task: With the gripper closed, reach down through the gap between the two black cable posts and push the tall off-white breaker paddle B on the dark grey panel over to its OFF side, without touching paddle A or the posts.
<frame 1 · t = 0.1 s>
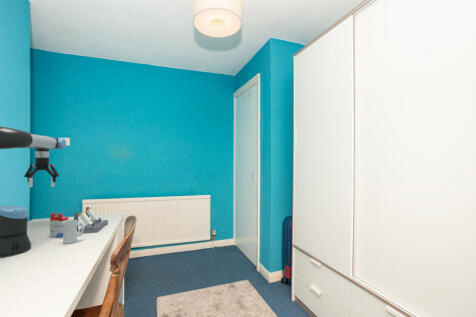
hand: (41, 186, 162), 28 cm above the table, fingers open, 13 cm apart
paddle B: (92, 214, 162), point 8 cm above the table, hinge at -35.0°
cable post right: (87, 223, 169), on the table
ink box: (59, 236, 141), on the table
breaker panel: (94, 228, 158), on the table
cable post left: (75, 230, 152), on the table
paddle A: (85, 218, 151), point 8 cm above the table, hinge at -35.0°
mug: (73, 241, 132), on the table
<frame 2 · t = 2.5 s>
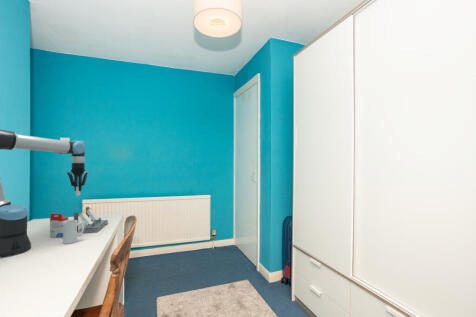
hand: (78, 195, 160), 22 cm above the table, fingers closed
nothing on the table moved.
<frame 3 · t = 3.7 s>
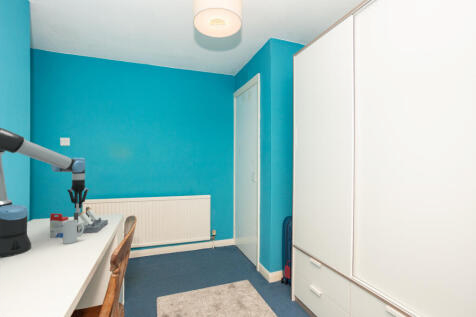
hand: (78, 212, 160), 10 cm above the table, fingers closed
nothing on the table moved.
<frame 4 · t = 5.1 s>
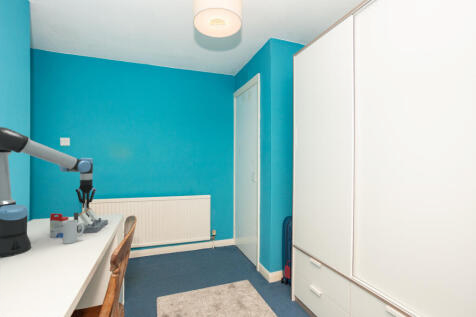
hand: (85, 212, 161), 10 cm above the table, fingers closed
paddle B: (92, 214, 162), point 8 cm above the table, hinge at -34.9°, touching gripper
everything else where it was.
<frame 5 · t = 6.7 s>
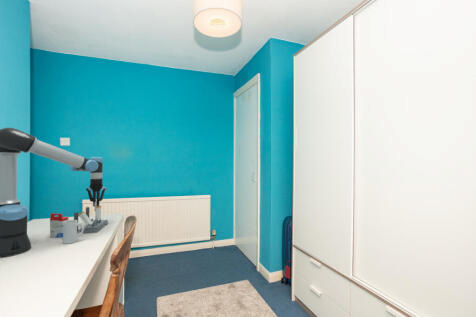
hand: (96, 210, 163), 11 cm above the table, fingers closed
paddle B: (98, 213, 163), point 9 cm above the table, hinge at 2.8°, touching gripper
everything else where it was.
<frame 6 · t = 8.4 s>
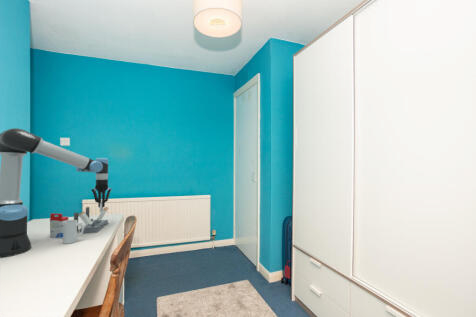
hand: (101, 211, 164), 10 cm above the table, fingers closed
paddle B: (102, 214, 164), point 8 cm above the table, hinge at 30.9°, touching gripper
everything else where it was.
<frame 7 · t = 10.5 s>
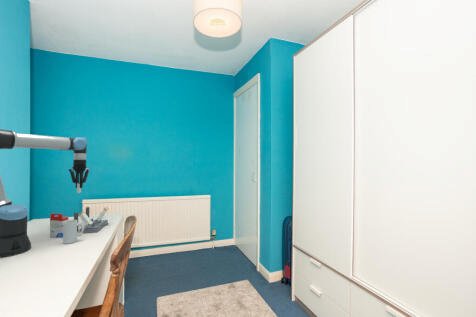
hand: (78, 192, 159), 25 cm above the table, fingers closed
paddle B: (102, 214, 164), point 8 cm above the table, hinge at 31.0°
everything else where it was.
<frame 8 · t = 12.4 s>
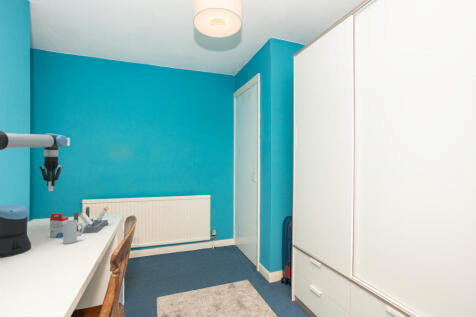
hand: (50, 190, 154), 26 cm above the table, fingers closed
nothing on the table moved.
at the end: paddle B at +31° (first picture: -35°); paddle A at -35° (first picture: -35°) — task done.
